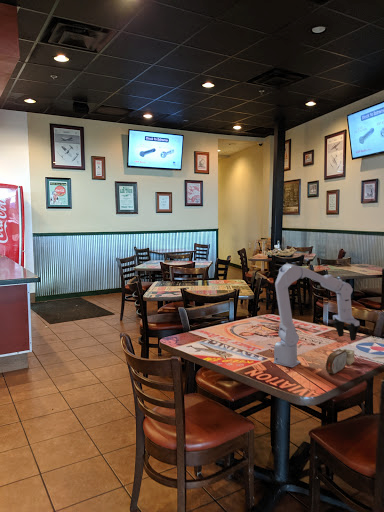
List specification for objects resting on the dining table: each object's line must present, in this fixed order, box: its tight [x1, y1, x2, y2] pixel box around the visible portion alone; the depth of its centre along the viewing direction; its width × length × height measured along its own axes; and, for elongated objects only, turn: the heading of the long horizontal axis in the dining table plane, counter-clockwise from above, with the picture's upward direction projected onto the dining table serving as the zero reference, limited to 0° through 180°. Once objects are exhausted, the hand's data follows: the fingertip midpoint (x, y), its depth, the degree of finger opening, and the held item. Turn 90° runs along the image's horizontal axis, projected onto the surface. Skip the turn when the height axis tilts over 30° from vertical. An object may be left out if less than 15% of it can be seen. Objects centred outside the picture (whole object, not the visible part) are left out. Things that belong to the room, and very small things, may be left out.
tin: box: [325, 348, 347, 375], centre depth 162 cm, size 15×3×8 cm, turn 135°
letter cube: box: [341, 348, 355, 366], centre depth 172 cm, size 5×5×5 cm
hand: (347, 338), depth 174 cm, fingers open, 7 cm apart
